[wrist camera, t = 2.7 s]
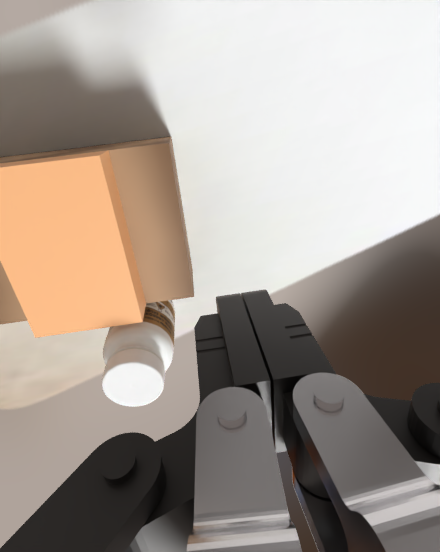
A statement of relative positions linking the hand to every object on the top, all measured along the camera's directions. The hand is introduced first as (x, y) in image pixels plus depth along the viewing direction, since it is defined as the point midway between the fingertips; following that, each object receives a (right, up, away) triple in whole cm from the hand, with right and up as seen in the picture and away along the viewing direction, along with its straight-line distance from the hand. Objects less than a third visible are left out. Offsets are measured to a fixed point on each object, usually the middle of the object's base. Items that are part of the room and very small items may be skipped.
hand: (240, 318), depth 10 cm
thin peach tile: (-9, +3, +8) cm, 12 cm away
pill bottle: (-6, -1, +15) cm, 17 cm away
